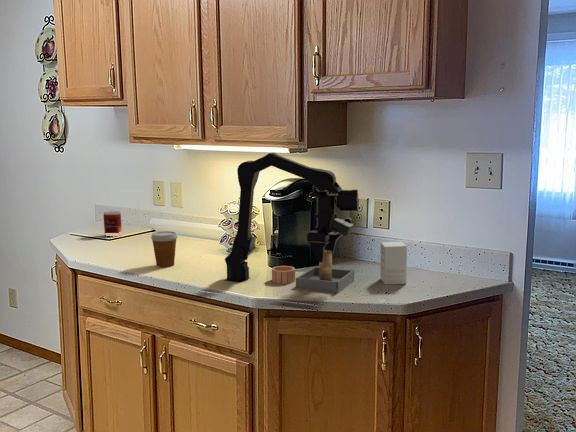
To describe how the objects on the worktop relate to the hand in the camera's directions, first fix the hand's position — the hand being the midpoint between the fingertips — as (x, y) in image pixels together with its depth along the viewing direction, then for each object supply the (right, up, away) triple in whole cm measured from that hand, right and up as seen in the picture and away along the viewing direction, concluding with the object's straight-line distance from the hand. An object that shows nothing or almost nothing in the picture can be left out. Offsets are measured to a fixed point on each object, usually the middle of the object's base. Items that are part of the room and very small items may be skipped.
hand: (326, 258), depth 198 cm
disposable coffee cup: (-57, -5, +30) cm, 65 cm away
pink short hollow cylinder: (-14, -8, +5) cm, 17 cm away
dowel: (0, -7, +1) cm, 8 cm away
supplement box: (+22, -8, +5) cm, 24 cm away
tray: (0, -8, +1) cm, 9 cm away
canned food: (-93, +4, +89) cm, 129 cm away
